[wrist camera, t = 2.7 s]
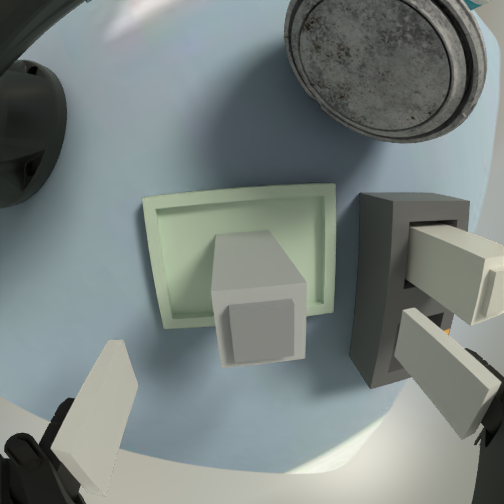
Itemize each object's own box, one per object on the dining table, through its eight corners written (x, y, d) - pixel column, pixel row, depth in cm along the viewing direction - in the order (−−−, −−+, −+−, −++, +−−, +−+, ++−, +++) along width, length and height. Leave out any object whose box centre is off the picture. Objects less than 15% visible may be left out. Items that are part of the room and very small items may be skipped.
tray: (166, 321, 28) (163, 329, 26) (146, 196, 24) (142, 198, 23) (328, 305, 29) (333, 312, 27) (329, 182, 25) (335, 183, 24)
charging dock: (349, 356, 31) (407, 450, 17) (359, 193, 26) (473, 224, 12) (413, 340, 32) (481, 414, 18) (431, 192, 26) (542, 220, 13)
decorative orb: (238, 58, 21) (259, -49, 7) (339, -12, 20) (408, -92, 5) (354, 175, 25) (475, 193, 11) (434, 91, 23) (542, 70, 9)
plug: (220, 283, 26) (221, 375, 14) (216, 234, 25) (210, 296, 13) (271, 279, 27) (307, 364, 15) (268, 229, 25) (310, 287, 13)
